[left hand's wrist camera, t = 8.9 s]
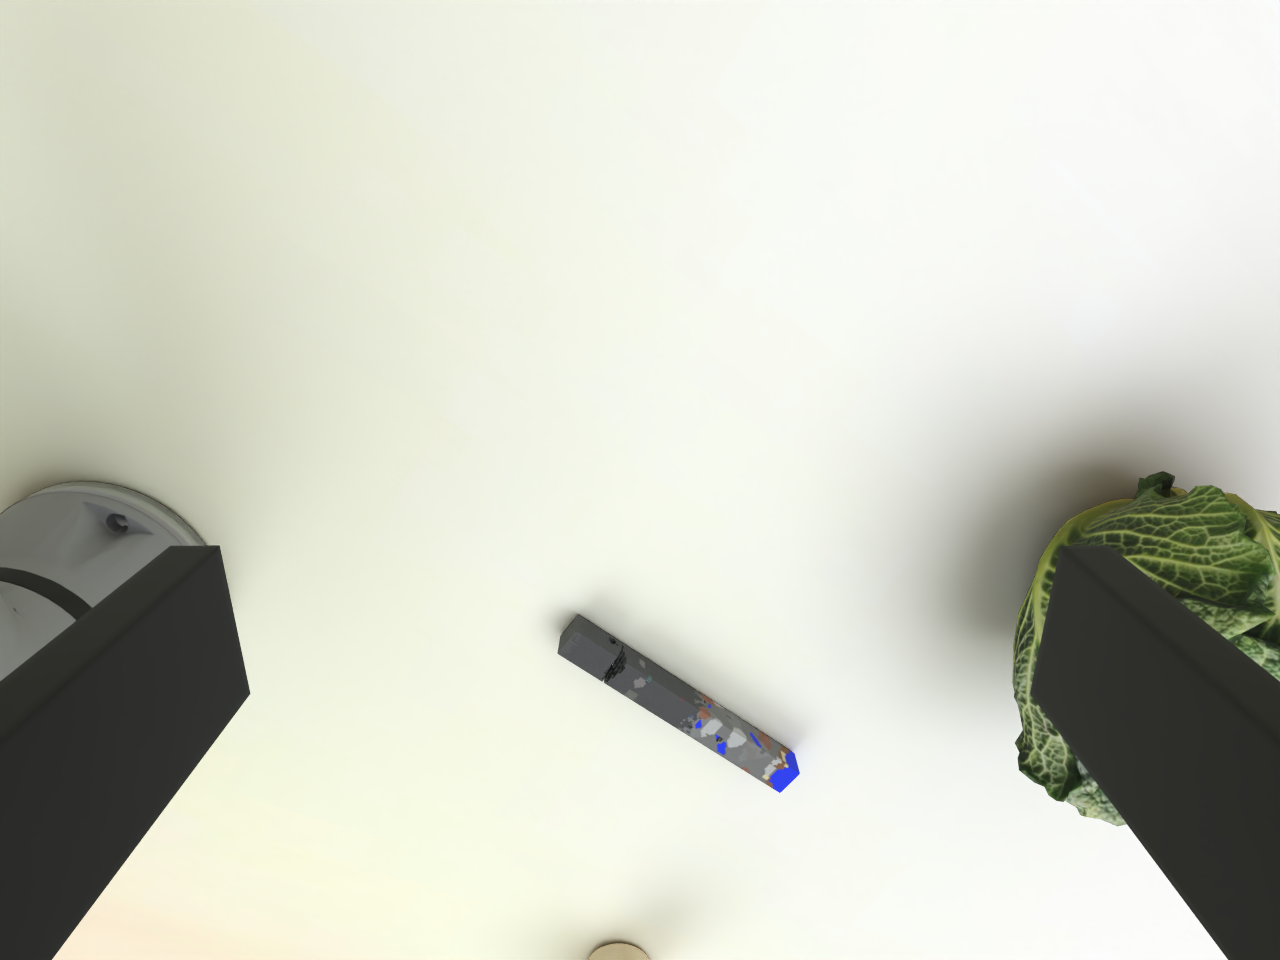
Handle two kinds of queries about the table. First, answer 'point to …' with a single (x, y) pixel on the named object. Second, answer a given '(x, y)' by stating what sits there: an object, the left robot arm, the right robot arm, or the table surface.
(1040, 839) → the table surface
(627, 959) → the candle
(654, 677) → the pillar
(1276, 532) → the vegetable
